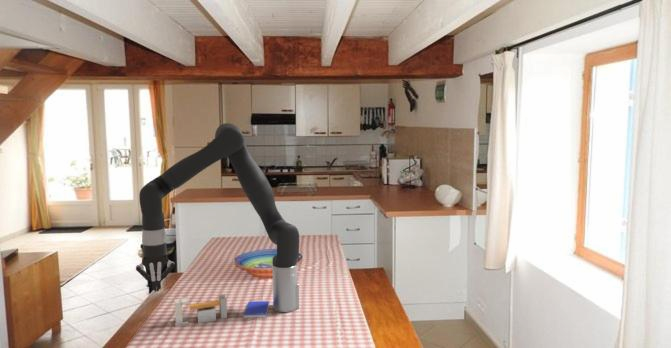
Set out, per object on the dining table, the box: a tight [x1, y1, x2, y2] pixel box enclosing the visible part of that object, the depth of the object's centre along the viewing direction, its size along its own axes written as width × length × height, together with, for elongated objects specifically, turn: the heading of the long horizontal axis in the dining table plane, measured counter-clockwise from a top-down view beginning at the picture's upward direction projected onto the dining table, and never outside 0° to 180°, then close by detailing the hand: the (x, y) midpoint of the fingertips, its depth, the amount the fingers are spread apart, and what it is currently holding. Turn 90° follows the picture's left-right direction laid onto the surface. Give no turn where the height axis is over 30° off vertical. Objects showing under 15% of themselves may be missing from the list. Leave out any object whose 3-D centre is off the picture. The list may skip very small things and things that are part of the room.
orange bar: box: [189, 299, 221, 311], centre depth 168 cm, size 12×2×2 cm, turn 111°
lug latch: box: [174, 297, 189, 323], centre depth 165 cm, size 4×4×8 cm
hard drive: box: [243, 300, 270, 319], centre depth 178 cm, size 2×8×12 cm
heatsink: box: [196, 306, 217, 324], centre depth 168 cm, size 6×6×4 cm
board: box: [174, 293, 228, 327], centre depth 168 cm, size 19×15×8 cm
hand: (156, 290), depth 161 cm, fingers closed
